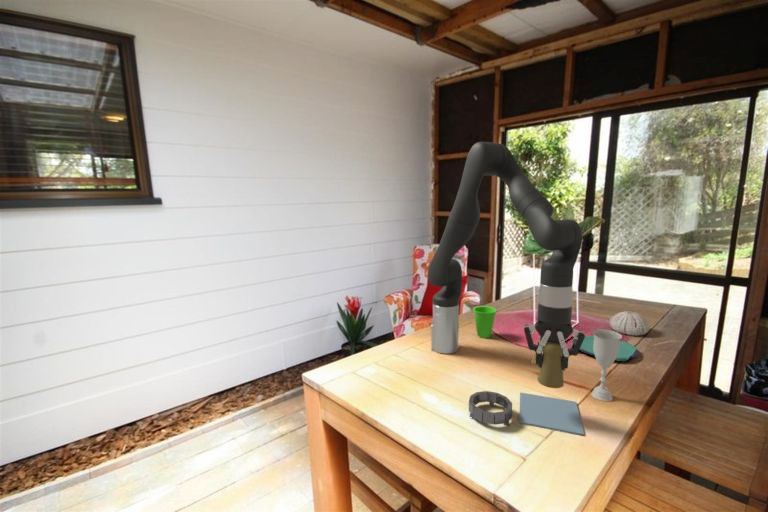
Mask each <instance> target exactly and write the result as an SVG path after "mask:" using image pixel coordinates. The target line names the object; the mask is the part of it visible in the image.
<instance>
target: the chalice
mask: <svg viewBox="0 0 768 512" xmlns="http://www.w3.org/2000/svg"><path fill="white" fill-rule="evenodd" d="M592 336H594V344H593V350H594V354H595V356H594V357H595V358H596V361H597V364H598V366H600V367H601V371H600V375H601V377H600V378H599V381H600V385H596V386H595V387H594V389H593V390H592V392H591V393H590V394H591V396H592V397H593V398H594V399H596V400H599V401H601V402H612V401H613V399H614V398H613V396H612V393H611V391H610V389H609V388H608V387H606V385H605V384H606V382H607V381H608V380H607V379H606V376H607V375H608V373H607V368H611V366H612V365H613V364H614V362H615V361H616V357H617V356H618V353H619V342H620V341H621V340H622V338H623V335H622V333H620V332H617V331H615V330H610V329H603V328H602V329H600V328H598V329H594V330H593V331H592Z"/></svg>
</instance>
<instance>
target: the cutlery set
mask: <svg viewBox="0 0 768 512" xmlns="http://www.w3.org/2000/svg"><path fill="white" fill-rule="evenodd" d="M574 340H575V339H574V338H573V340H572V342H571V345H570V346H571V347H572V345H573V342H574ZM565 341H567V340H565ZM567 342H568V341H567ZM593 344H594V335H585V338H584V340H583V342H582V345H581V347H580V350H579V352H582V353H585V354H587V355H590V356H592V357H595V354H594V350H593ZM571 347H570V348H571ZM638 352H639V351H638V347H636V346H634V345H633V344H631V343H629V342H627V341H622V340H620V342H619V353H618V356H617V357H616V359H615V361H617V362H626V361H628V360H629V359H633V358H635V357H637V356H638V354H639V353H638Z"/></svg>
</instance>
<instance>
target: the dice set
mask: <svg viewBox="0 0 768 512" xmlns="http://www.w3.org/2000/svg"><path fill="white" fill-rule="evenodd" d="M530 362H531V365H536V355H532V359H531V361H530Z"/></svg>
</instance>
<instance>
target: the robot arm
mask: <svg viewBox="0 0 768 512" xmlns="http://www.w3.org/2000/svg"><path fill="white" fill-rule="evenodd" d="M461 176H462V177H461V181H460V185H459V188H458V191H457V195H456V197H455V200H454V203H453V206H452V209H451V211H450V212H449V213H450V214H449V216H448V219H447V221H446V226H445V229H444V231H443V234H442V237H441V239H440V241H439V244H438V246H437V248H436V250H435V253H434V254H433V256H432V258H431V261H430V263H429V266H428V268H427V270H428V271H427V278H428V279H427V280H428V282H429V283H430V285H432V286H434V287H442V288H441V289H440V290H439V291H437V292H436V293H435V294H434V295H433V296H432V324H431V327H430V328H431V333H430V334H431V340H430V341H431V343H430V344H431V345H430V346H431V347H430V348H431V349H430V350H432V351H435V352H436V353H440V354H445V355H446V354H448V355H449V354H454V353H456V352H458V350H459V330H460V329H459V328H460V327H459V319H460V318H459V312H460V310H459V309H460V307H459V303H460V299H461V294H462V284H463V283H462V282H463V271H462V266H461V264H460V262H459V261H458V260H457V259H455V258H454V257H455V255H456V254H458V252H459V251H460V250H461V249H462V248H463V247H464V246H465V245H466V244H467V243H468V242H469V241H470V240H471V238H472V237H473V236H474V234H475V231H476V229H477V226H478V225H479V222H480V219H481V209H480V204H479V199H478V191H479V188H480V185H481V182H482V180H483V179H484V176H487V177H488V176H490V177H491V176H496V177H497V178H499V179H500V180H501V181H503V182H504V184H505V185H506V186H507V188H508V194H509V195H508V196H509V200H510V201H511V204H512V206H513V207H514V209H515V210H516V211H517V213H519V215H520V216H521V217H522V219H524V220H525V221H526V222H527V226H528V228H529V231H530V233H531V235H532V238H533V240H534V241H535V243H536V244H537V245H538V246H540V248H542V249H543V250H546V251H551V252H552V253H551V256H550V257H548V258H547V259H545V260H543V261H542V262H541V267H540V278H539V279H540V281H539V288H538V296H537V318H536V319H537V320H536V322H535V323H534V324H531V325H529V324H527V323H526V324H525V325H523V330H524V335H525V339H526V343H527V346H528V350H529V351H533V352H535V356H536V364H535V365H537V366H538V368H540V367H542V355H543V352H542V347H543V346H545V345H546V342H554V343H559V344H560V345H561V348H562V349H563V354H562V355H561V359H562V370H563V372H565V370H566V369H568V368H569V358H570V356H571V357H572V356H573V357H574V356H575V357H577V356H578V354H579V352H580V347H581V345H582V342H583V340H584V338H585V336H586V335H585V332H584V330H582V329H579V330H577V329H575V328H573V326H572V318H573V317H572V316H573V315H572V314H573V313H572V312H573V303H574V302H573V300H574V298H573V297H574V292H573V291H574V290H573V289H574V288H573V282H574V267H575V265H576V262H577V260H578V257H579V254H580V251H581V248H582V244H583V240H584V239H583V237H584V236H583V229H582V228H581V225H580V224H579V223H578V222H577V221H576V220H573V219H568V218H567V219H554V218H553V217H552V216H553V214H554V206H553V204H552V203H551V202H550V201H549V200H548V199H547V198H546V196H545V195H544V194H542V192H540V190H539V189H538V188H537V187H536V186H535V185H534V184H533V183H532V181H531V180H530V179H529V178H528V176H527V175H526V174H525V172H524V170H523V168H522V167H521V166H520V165H519V163H518V161H517V159H516V158H515V157H514V154H513V153H512V152H511V151H510V149H509V148H508V147H507V146H506V145H504V143H503V144H502V143H500V142H493V141H492V142H490V141H478V142H476V143H474V144H473V145H472V147H471V148H470V150H469V152H468V154H467V157H466V160H465V163H464V167H463V172H462V175H461ZM535 330H536V332H537V333H538V334H539V339H538V342H537V344H536V343H534V339H533V336H532V335H533V334H534V332H535ZM571 335H573V340H574V339H575V340H574V342H573V345H572V347H570V348H568V346H567V342H565V340H566V339H567V338H568V337H570V336H571Z"/></svg>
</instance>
